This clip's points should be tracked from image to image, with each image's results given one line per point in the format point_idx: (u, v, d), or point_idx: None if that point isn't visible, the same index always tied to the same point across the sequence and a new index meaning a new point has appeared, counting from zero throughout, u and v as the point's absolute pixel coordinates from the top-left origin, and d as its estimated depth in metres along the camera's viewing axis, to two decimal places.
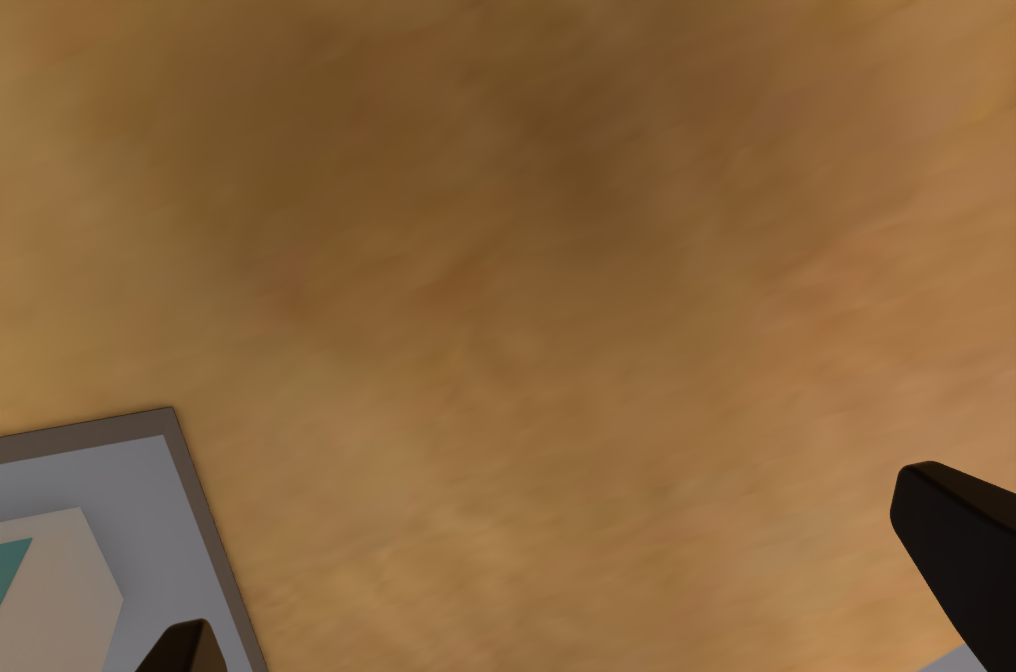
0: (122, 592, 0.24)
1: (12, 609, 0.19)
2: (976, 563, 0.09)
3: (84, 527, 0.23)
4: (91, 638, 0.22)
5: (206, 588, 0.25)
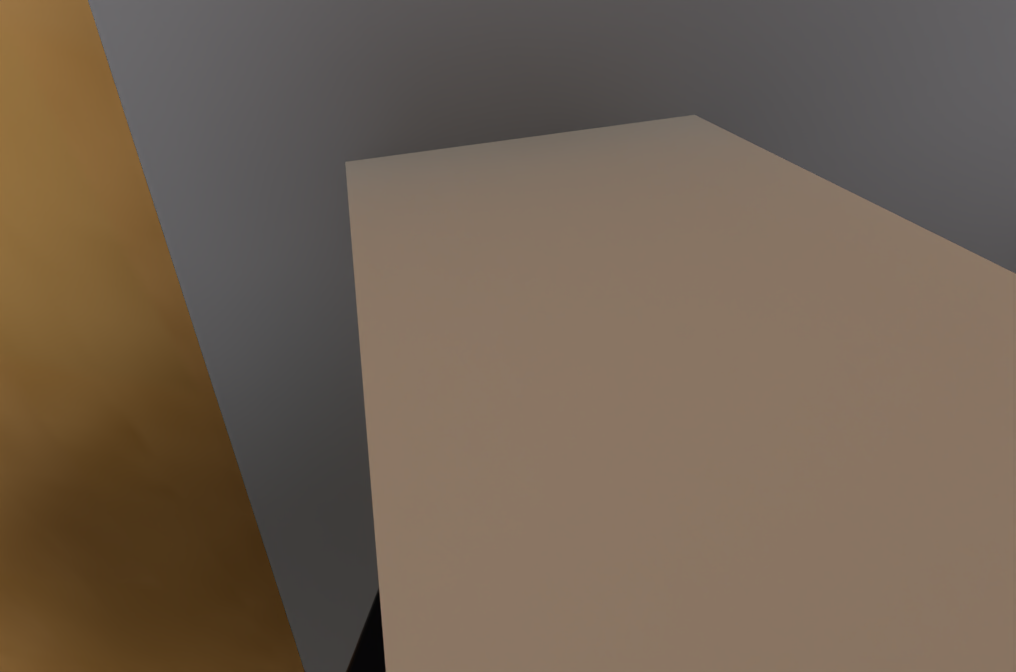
0: (670, 113, 0.09)
1: None
2: None
3: (402, 160, 0.08)
4: (700, 193, 0.06)
5: None
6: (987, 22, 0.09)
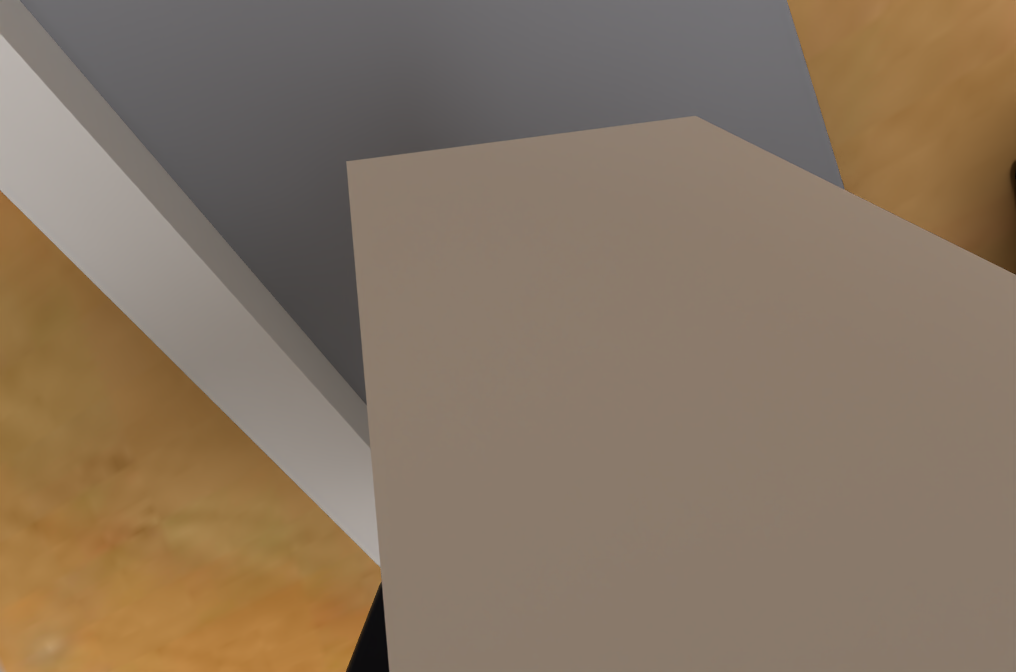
0: None
1: None
2: None
3: (403, 160, 0.08)
4: (701, 194, 0.06)
5: None
6: (676, 0, 0.17)
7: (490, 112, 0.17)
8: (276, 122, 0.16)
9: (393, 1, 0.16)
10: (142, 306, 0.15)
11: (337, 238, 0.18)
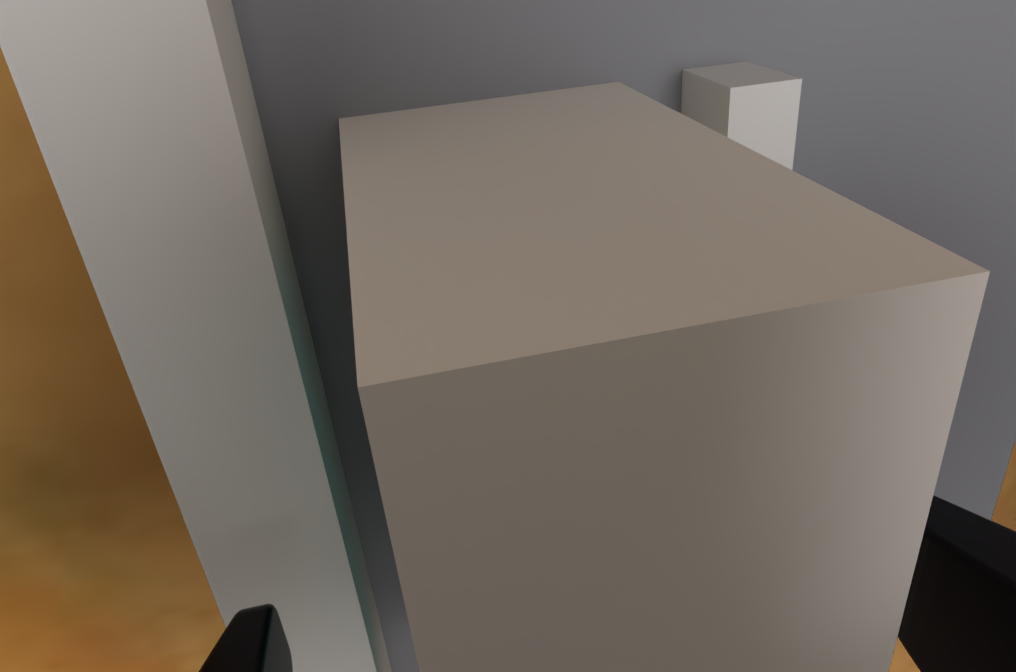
0: None
1: None
2: (918, 577, 0.09)
3: (383, 117, 0.10)
4: (601, 132, 0.08)
5: None
6: None
7: None
8: None
9: None
10: None
11: (408, 35, 0.10)
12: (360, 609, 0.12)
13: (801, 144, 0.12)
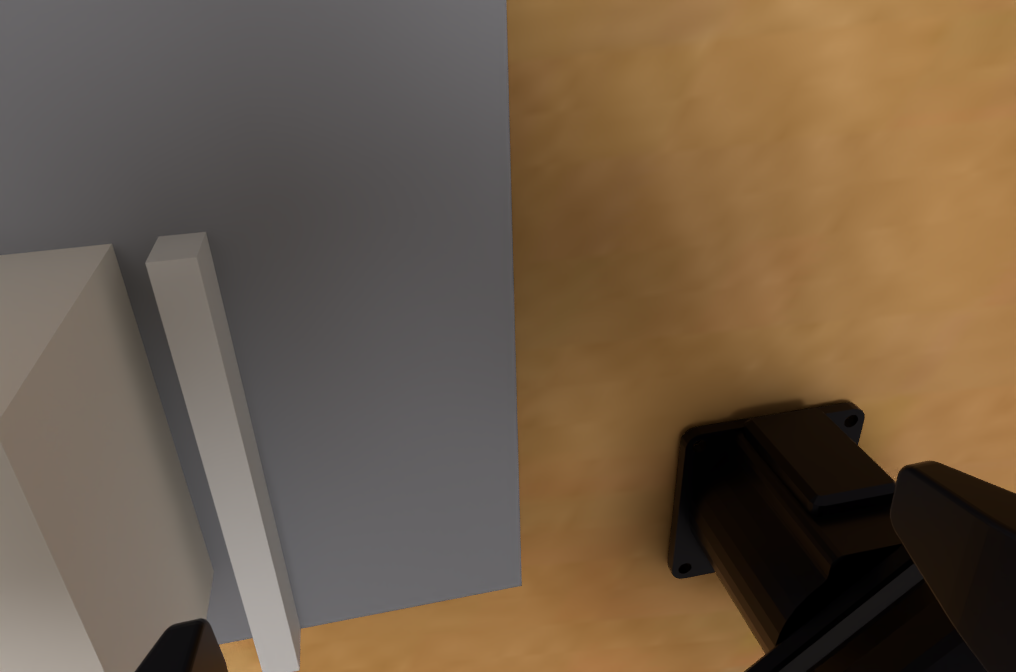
0: None
1: None
2: (976, 563, 0.09)
3: None
4: (18, 299, 0.14)
5: None
6: (407, 155, 0.17)
7: (177, 168, 0.16)
8: None
9: (103, 14, 0.14)
10: None
11: None
12: None
13: (266, 281, 0.18)
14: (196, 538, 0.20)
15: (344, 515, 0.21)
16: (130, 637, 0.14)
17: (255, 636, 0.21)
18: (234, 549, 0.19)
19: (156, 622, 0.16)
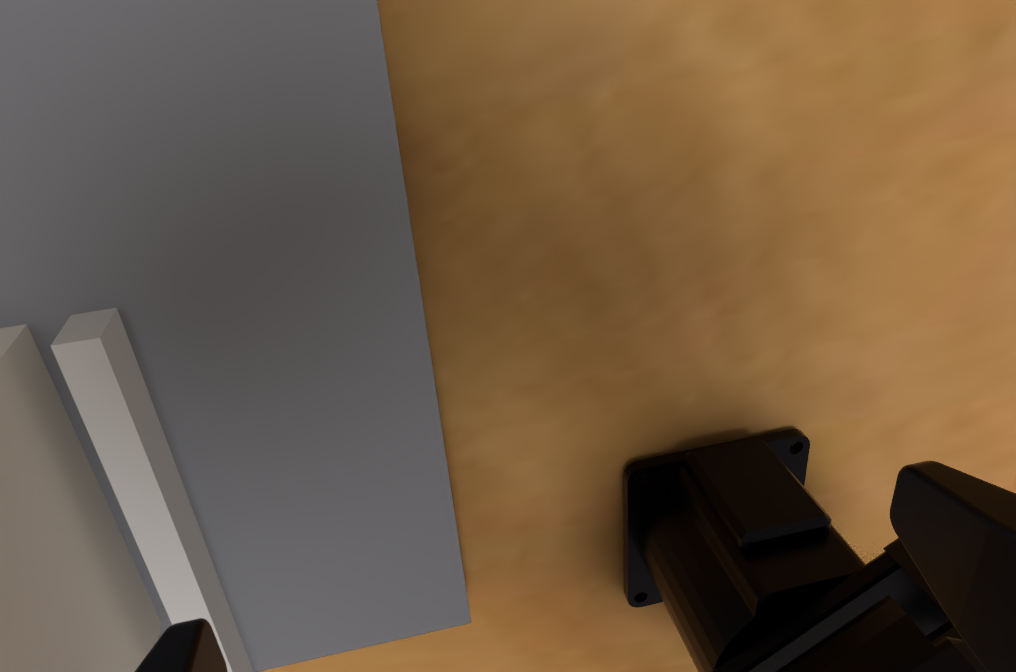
0: (237, 47, 0.15)
1: None
2: (976, 563, 0.09)
3: None
4: None
5: (365, 62, 0.16)
6: (306, 224, 0.17)
7: (81, 251, 0.17)
8: None
9: None
10: None
11: None
12: None
13: (181, 350, 0.18)
14: (138, 594, 0.21)
15: (284, 564, 0.22)
16: None
17: None
18: (170, 605, 0.20)
19: None
